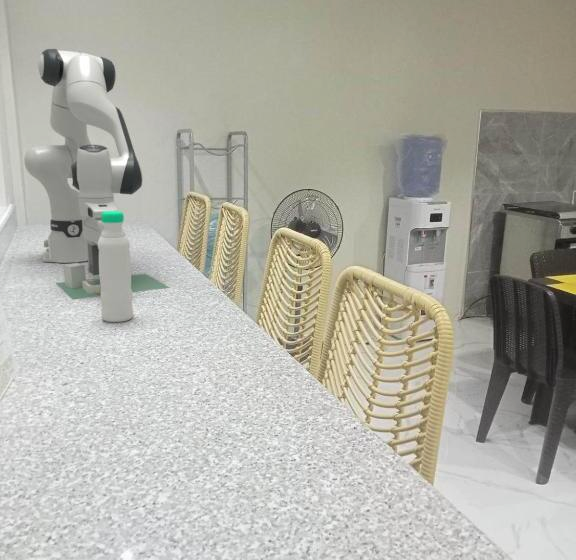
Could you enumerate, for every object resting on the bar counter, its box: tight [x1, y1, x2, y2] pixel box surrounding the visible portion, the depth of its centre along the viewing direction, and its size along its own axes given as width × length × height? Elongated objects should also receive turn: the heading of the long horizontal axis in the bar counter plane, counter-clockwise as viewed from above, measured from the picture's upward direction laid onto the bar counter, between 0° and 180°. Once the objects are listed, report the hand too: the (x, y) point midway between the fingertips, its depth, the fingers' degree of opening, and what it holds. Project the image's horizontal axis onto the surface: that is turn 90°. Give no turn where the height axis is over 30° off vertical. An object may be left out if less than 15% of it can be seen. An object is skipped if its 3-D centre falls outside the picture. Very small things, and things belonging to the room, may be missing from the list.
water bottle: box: [98, 210, 134, 323], centre depth 130 cm, size 7×7×25 cm
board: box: [55, 273, 171, 300], centre depth 159 cm, size 20×26×3 cm
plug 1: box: [63, 262, 87, 288], centre depth 157 cm, size 5×4×6 cm
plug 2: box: [88, 242, 99, 276], centre depth 153 cm, size 5×5×8 cm
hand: (100, 259), depth 153 cm, fingers closed on plug 2, 4 cm apart
